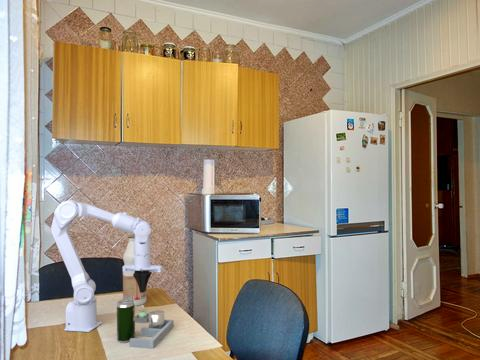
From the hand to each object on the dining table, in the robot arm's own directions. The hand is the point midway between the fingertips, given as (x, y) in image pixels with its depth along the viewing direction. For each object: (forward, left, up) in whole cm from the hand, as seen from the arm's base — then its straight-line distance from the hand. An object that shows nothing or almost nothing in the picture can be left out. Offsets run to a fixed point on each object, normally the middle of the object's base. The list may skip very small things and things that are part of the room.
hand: (142, 291), depth 132 cm
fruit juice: (-12, +18, -10) cm, 24 cm away
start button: (0, 0, -10) cm, 10 cm away
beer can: (+2, -17, -10) cm, 20 cm away
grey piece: (+9, -12, -10) cm, 19 cm away
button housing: (0, 0, -10) cm, 10 cm away
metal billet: (+9, -9, -10) cm, 16 cm away
